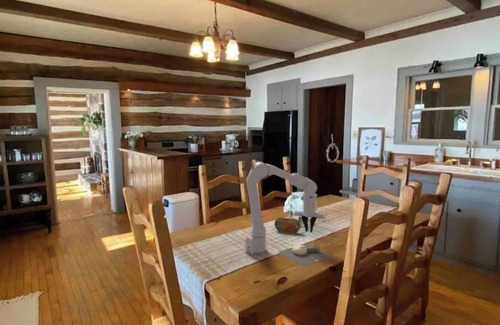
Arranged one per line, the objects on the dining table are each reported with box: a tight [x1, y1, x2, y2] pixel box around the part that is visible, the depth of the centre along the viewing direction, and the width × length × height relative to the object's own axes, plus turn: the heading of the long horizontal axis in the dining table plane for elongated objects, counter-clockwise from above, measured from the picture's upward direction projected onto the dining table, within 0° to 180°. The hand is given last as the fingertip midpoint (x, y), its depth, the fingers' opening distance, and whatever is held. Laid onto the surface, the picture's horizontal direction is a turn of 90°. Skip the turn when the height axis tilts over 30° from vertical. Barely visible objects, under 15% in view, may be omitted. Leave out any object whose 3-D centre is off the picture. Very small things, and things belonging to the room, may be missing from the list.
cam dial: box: [291, 240, 321, 255], centre depth 143 cm, size 13×7×5 cm, turn 93°
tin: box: [274, 216, 301, 234], centre depth 174 cm, size 15×3×8 cm, turn 62°
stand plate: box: [278, 243, 333, 267], centre depth 141 cm, size 18×18×2 cm
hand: (309, 231), depth 148 cm, fingers closed
